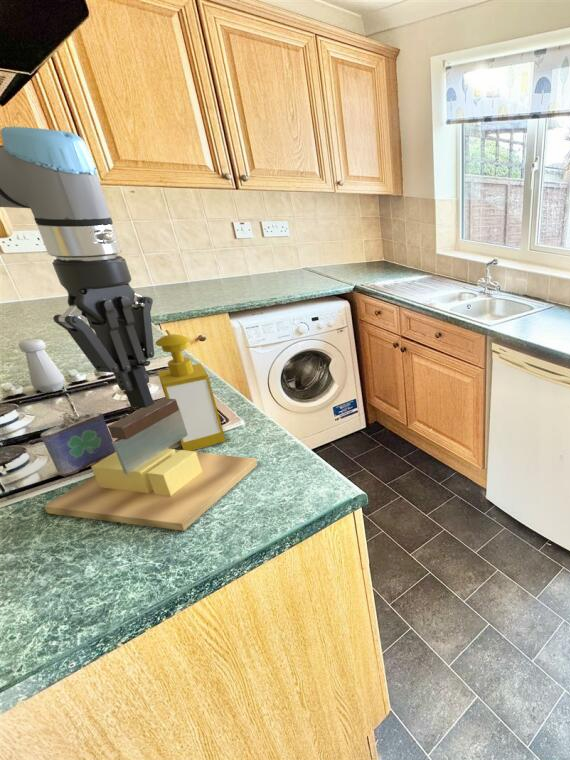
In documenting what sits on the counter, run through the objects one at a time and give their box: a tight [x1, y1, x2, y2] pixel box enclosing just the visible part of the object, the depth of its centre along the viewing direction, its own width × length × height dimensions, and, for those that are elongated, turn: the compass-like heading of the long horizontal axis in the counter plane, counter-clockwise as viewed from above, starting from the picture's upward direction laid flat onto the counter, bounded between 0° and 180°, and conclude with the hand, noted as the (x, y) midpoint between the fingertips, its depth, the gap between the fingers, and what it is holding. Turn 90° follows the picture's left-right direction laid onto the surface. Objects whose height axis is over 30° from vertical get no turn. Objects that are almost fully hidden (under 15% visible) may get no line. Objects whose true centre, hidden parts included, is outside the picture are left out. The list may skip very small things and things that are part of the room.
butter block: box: [90, 448, 176, 493], centre depth 75 cm, size 9×7×4 cm
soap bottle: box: [155, 329, 227, 451], centre depth 87 cm, size 7×13×24 cm, turn 43°
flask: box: [40, 411, 116, 477], centre depth 79 cm, size 9×3×11 cm, turn 164°
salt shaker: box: [18, 338, 66, 394], centre depth 103 cm, size 6×6×13 cm
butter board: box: [44, 449, 258, 532], centre depth 76 cm, size 24×18×2 cm
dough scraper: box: [107, 397, 188, 474], centre depth 71 cm, size 2×12×8 cm, turn 174°
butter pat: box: [147, 449, 202, 496], centre depth 74 cm, size 3×7×4 cm, turn 174°
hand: (142, 404), depth 69 cm, fingers closed
